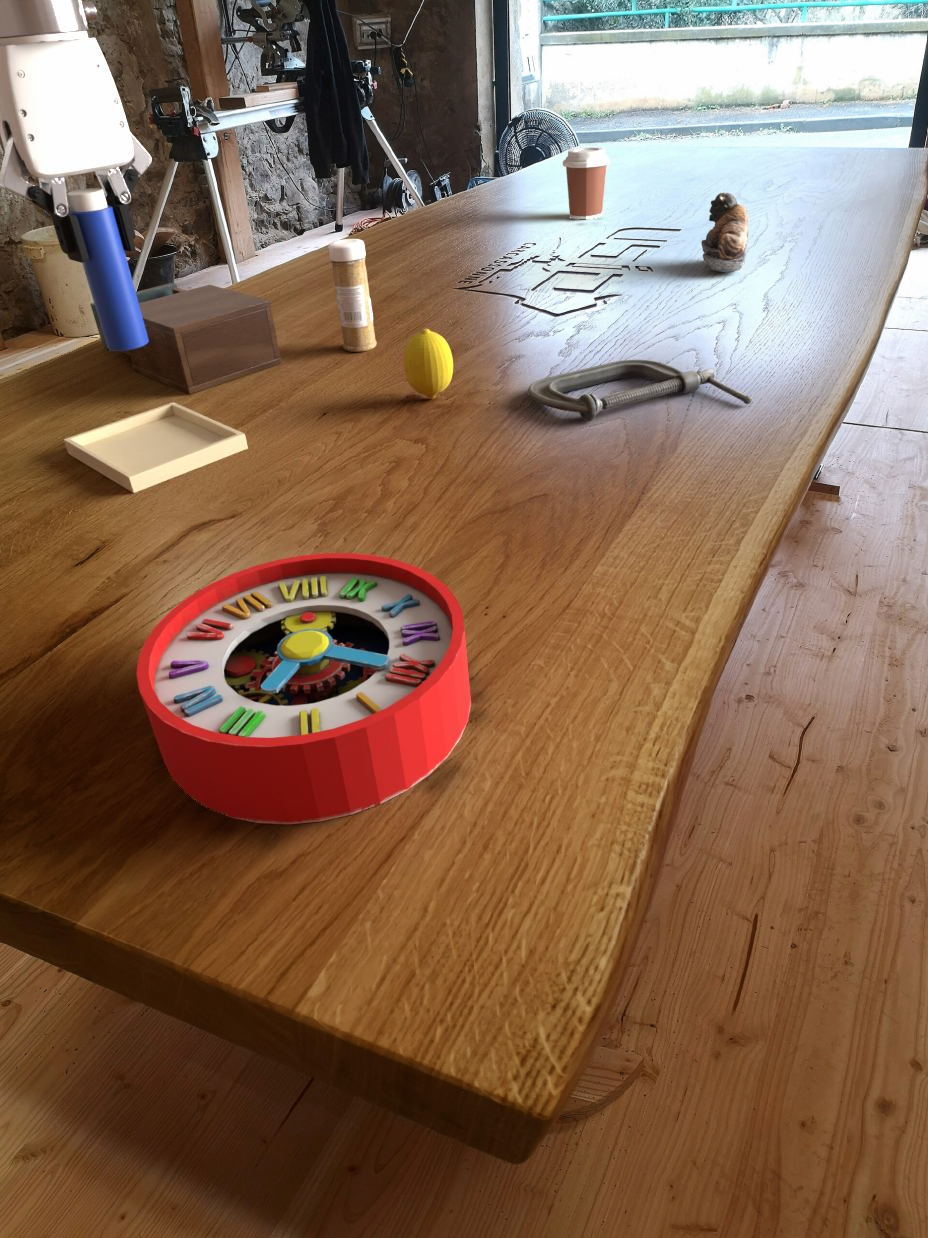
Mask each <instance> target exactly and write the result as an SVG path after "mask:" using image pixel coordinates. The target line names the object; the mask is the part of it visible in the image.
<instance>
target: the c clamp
mask: <svg viewBox="0 0 928 1238" xmlns="http://www.w3.org/2000/svg"><path fill="white" fill-rule="evenodd" d="M715 376H716V374H715V372H714V370H713V369H712V368H708V369H704V370H701V369H699V370H697V371H696V370H695V371H694V370H689V371H684V372H683V371H681V370H679V369H678V368H676V367H674V366H671V365H668V364H665V363H663V362H659V361H655V360H650V359H649V360H647V359H625V360H624V359H623V360H617V361H612V362H608V363H603V364H599V365H594V366H591V367H585V368H583V369H578V370H574V371H569V372H565V373H561V374H556V375H551V376H548V377H544V378H541V379H539V380H536V381H534V382H533V383H531V384H530V385H529V386H528V389H527V394H528V396H529V398H531V400H533V401H534V402H537V403H538V404H541V405H543V406H546V407H549V408H552V409H555V410H559V411H565V412H566V411H567V412H571V413H579V415H580V416H581V418H582V419H583V420H584V421H587V422H590V421H593V420H595V418H596V416H597V415H598V414H599V413H601V412H602V410H603V411H608V410H610V409H611V410H612V409H615V408H620V407H623V406H627V405H630V404H634V403H638V402H642V401H645V400H649V399H653V398H656V397H660V396H664V395H668V394H672V393H676V392H677V393H678V394H686V393H687V394H688V393H690V392H695V391H697V390H698V388H699V387H700V386H702V385H707V384H710V385H712V386H713V387H715V388H717V389H719V390H721V391H722V392H724V393H727V394H728V395H730V396H732V397H734V398H736V399H738V400H740V401H742V402H743V403H744V404H745V405H750V404H751V403H752V402H753V397H752V396H750V395H746V394H745V393H742V392H741V391H738V390H737V389H735V388H733V387H731V386H729V385H727V384H725V383H723V382H722V381H719V380H718V379H715V378H716V377H715ZM627 378H637V379H644V380H648V381H650V382H651V381H652V382H654V383H653V384H649V385H645V386H641V387H638V388H634V389H631V390H626V391H623V392H618V393H614V394H611V395H607V396H604V397H601V398H600V399H598V398H597V396H596V395H595V394H593V393H590V394H588V393H584V394H582V395H581V396H579V397H578V398H575V397H573V396H570V395H566V394H564V393H567V392H570V391H575V390H579V389H583V388H589V387H592V386H596V385H600V384H603V383H607V382H612V381H615V380H619V379H627Z"/></svg>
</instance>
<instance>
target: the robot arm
mask: <svg viewBox="0 0 928 1238" xmlns="http://www.w3.org/2000/svg"><path fill="white" fill-rule="evenodd" d="M97 19H98V10H97V8H96V4H95V3H94V1H85V0H0V138H1V139H0V140H1V142H2V146H3V149H4V154H3V155H4V156H3V158H2V159H3V160H2V163H1V167H0V187H1V188H2V189H4V190H6V191H9V192H12V193H14V194H16V195H18V196H21V197H23V198H25V199H27V200H28V201H30V202H31V203H32V204H34V205H35V206H37V207H39V208H40V209H41V210H43V211H44V212H45V213H46V214H48V215H50V217H51V221H52V224H53V227H54V231H55V234H56V237H57V241H58V244H59V247H60V249H61V251H62V253H64V254H65V255H67V257H68V259H69V260H70V261H74V262H76V263H77V262H78V263H81V264H82V262H87V261H88V260H89V256H88V253H87V250H86V246H85V243H84V239H83V236H82V233H81V229H80V226H79V222H78V219H77V217H76V216H75V215H72V214H71V213H70V210H71V209H70V206H69V201H68V198H67V187H66V186H67V185H66V179H65V178H66V177H70V176H75V175H76V176H77V175H81V174H88V173H95V175H96V178H97V180H98V182H99V185H100V186H101V189H103V191H104V195H105V198H106V202H107V205H110V206H112V207H113V211H114V214H115V218H116V222H117V226H118V229H119V233H120V237H121V240H122V244H123V248H124V251H125V252H134V251H136V245H135V239H136V232H135V227H134V223H133V219H132V216H131V212H130V209H129V204H131V201H132V193H133V191H134V189H135V188H136V186H137V184H138V182H139V179H140V177H141V176H142V175H143V174H144V173H145V172H146V170H147V169H148V168H149V167H150V165H151V164H152V162H153V158H152V156H151V154H150V153H149V152H148V151H147V150H146V148H145V147H144V146H143V145H142V144H141V142H139V140H138V139H137V138H136V137H135V136H134V135H133V133H132V132H131V131H130V127H129V124H128V121H127V117H126V114H125V111H124V107H123V104H122V101H121V100H122V99H121V97H120V94H119V92H118V89H117V86H116V83H115V80H114V78H113V76H112V73H111V71H110V68H109V65H108V63H107V61H106V58H105V56H104V54H103V51H102V49H101V47H100V45H99V43H98V40H97V39H96V37H89V34H88V31H87V30H89V26H88V23H89V22H91V21H97ZM120 167H122V168H120ZM23 177H35V178H38V185H39V186H37V185H35V184H32V183H31V182H29V181H27V180H25V179H24V178H23Z"/></svg>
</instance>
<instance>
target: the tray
mask: <svg viewBox="0 0 928 1238" xmlns="http://www.w3.org/2000/svg"><path fill="white" fill-rule="evenodd" d="M63 442H64V445H65V448H66V451H67V454H68V455H70V456H71V457H73V458H74V459H76V460H78V461H80V462H81V463H83V464H85V465H86V466H88V467H90V468H91V469H92V470H95V471H96V472H98V473H99V474H101V475H103V476H104V477H106V478H108V479H109V480H111V481H113V482H114V483H116V484H118V485H119V486H121V487H123V489H126V490H128V492H129V491H130V492H131V493H133V494H135V493H138V492H140V491H143V490H146V489H149V488H151V487H153V486H157V485H159V484H161V483H164V482H165V481H169V480H171V479H174V478H176V477H179V476H182V475H184V474H187V473H189V472H191V471H194V470H196V469H200V468H202V467H204V466H207V465H209V464H212V463H215V462H217V461H221V460H222V459H225V458H227V457H230V456H233V455H236V454H238V453H240V452H243V451H246V450H248V449H249V447H248V441H247V438H246V434H245V433H244V432H242V431H240V430H237V429H235V428H233V427H230V426H228V425H226V424H224V423H221V422H219V421H217V420H214V419H212V418H210V417H208V416H205V415H204V414H202V413H199V412H197V411H194V410H192V409H190V408H188V407H186V406H183V405H182V404H181V405H180V404H178V403H176V402H174V401H173V402H170V403H167V404H164V405H161V406H158V407H154V408H152V409H149V410H146V411H143V412H140V413H137V414H134V415H131V416H128V417H125V418H122V419H119V420H116V421H114V422H110V423H108V424H105V425H102V426H98V427H96V428H92V429H90V430H87V431H84V432H80V433H79V434H75V435H73V436H69V437H67V438H63Z"/></svg>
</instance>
